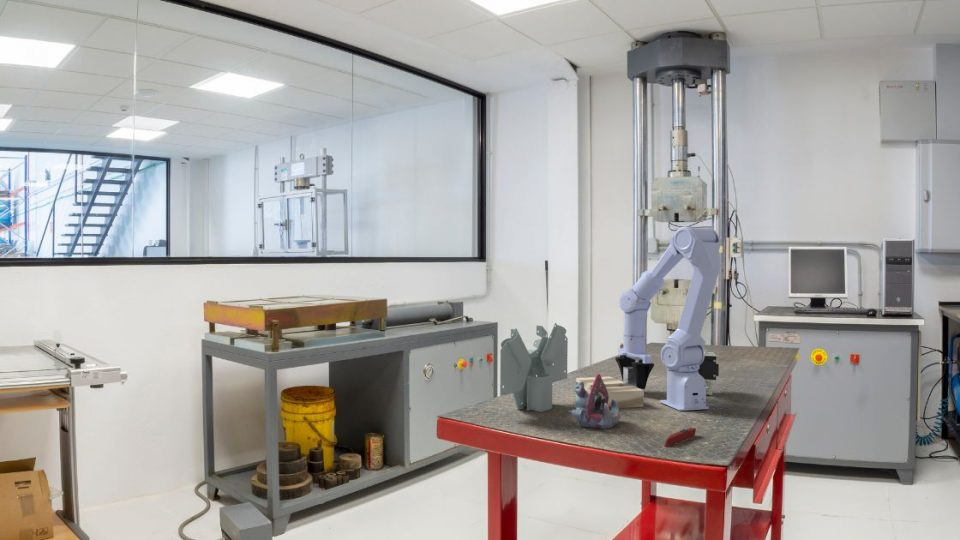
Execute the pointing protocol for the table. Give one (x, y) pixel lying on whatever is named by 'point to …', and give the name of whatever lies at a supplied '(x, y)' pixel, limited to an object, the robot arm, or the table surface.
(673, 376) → the robot arm
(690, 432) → the utility knife
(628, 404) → the light wood flat block
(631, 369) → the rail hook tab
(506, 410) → the table surface
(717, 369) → the pneumatic valve
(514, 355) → the bracket
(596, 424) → the grey red figurine
